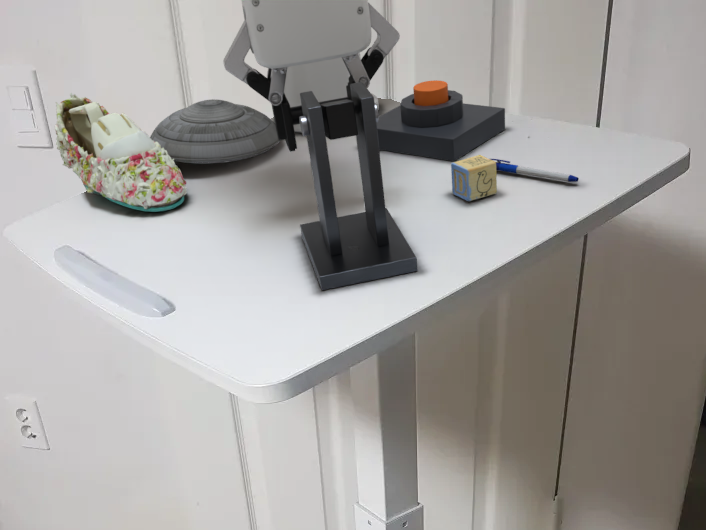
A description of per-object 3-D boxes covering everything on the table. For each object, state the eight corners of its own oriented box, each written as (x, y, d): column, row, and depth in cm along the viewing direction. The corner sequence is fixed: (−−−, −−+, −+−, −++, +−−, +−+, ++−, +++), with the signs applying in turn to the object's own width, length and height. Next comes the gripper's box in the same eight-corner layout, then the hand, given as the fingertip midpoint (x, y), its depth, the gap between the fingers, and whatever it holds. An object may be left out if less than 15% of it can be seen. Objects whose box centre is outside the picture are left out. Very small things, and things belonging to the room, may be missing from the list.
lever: (292, 130, 76) (287, 101, 74) (352, 119, 76) (347, 90, 75) (309, 144, 64) (303, 109, 63) (379, 131, 65) (374, 96, 63)
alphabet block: (451, 194, 80) (450, 161, 78) (479, 185, 81) (478, 152, 79) (468, 203, 78) (467, 170, 76) (497, 194, 78) (497, 161, 76)
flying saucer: (145, 141, 100) (135, 90, 96) (270, 127, 103) (265, 78, 99) (156, 181, 88) (146, 125, 85) (296, 164, 92) (291, 110, 88)
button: (407, 106, 89) (406, 89, 88) (427, 96, 91) (426, 79, 90) (435, 110, 87) (434, 92, 86) (455, 99, 89) (454, 81, 88)
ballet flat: (130, 229, 82) (104, 146, 77) (36, 173, 97) (9, 101, 92) (212, 198, 86) (192, 117, 81) (109, 148, 101) (88, 78, 96)
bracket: (302, 237, 76) (275, 85, 68) (387, 220, 77) (371, 67, 68) (321, 290, 68) (294, 125, 59) (417, 271, 69) (404, 105, 60)
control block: (362, 147, 92) (358, 108, 89) (415, 117, 98) (413, 80, 95) (454, 161, 86) (452, 120, 83) (505, 129, 91) (504, 89, 89)
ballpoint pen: (479, 169, 83) (479, 159, 83) (484, 166, 84) (484, 156, 83) (576, 184, 78) (576, 173, 77) (580, 181, 78) (581, 170, 78)
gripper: (387, -125, 68) (406, 111, 80) (176, -91, 66) (228, 144, 78) (410, -116, 62) (427, 135, 74) (180, -79, 61) (235, 172, 73)
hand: (324, 138), depth 76 cm, fingers closed on lever, 5 cm apart
